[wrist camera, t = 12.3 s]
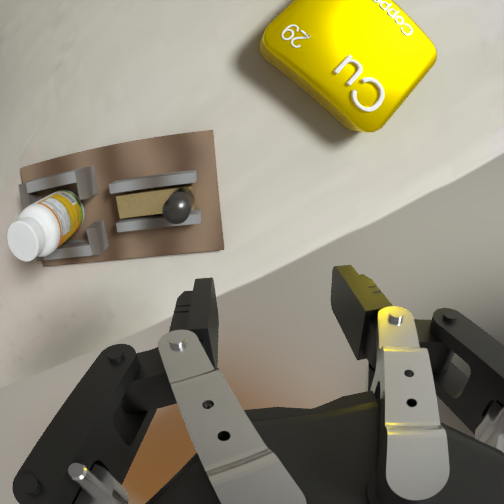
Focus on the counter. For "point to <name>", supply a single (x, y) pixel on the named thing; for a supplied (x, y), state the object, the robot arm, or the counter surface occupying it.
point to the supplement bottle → (45, 225)
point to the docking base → (126, 180)
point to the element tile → (350, 56)
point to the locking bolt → (158, 203)
